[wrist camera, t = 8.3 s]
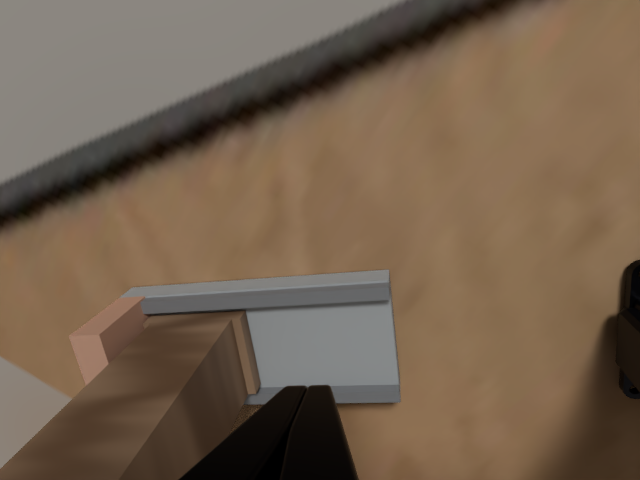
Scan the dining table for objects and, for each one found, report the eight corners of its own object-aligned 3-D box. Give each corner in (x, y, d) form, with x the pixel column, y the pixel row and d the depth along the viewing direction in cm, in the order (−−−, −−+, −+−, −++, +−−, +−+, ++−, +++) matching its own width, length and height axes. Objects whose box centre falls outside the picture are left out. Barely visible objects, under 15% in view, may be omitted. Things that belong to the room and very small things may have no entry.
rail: (388, 269, 21) (387, 320, 16) (400, 381, 22) (401, 455, 18) (132, 287, 23) (68, 336, 18) (161, 386, 25) (109, 453, 20)
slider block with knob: (245, 310, 21) (72, 570, 10) (260, 383, 22) (122, 691, 11) (151, 315, 22) (-107, 558, 11) (171, 385, 23) (-43, 670, 12)
